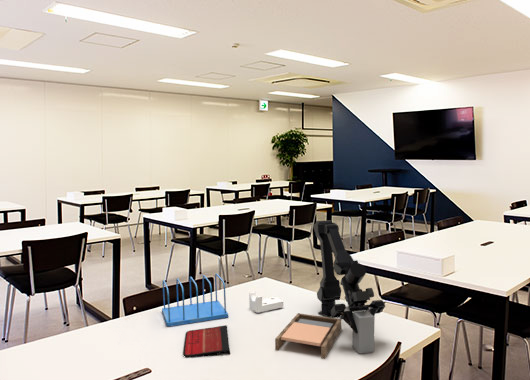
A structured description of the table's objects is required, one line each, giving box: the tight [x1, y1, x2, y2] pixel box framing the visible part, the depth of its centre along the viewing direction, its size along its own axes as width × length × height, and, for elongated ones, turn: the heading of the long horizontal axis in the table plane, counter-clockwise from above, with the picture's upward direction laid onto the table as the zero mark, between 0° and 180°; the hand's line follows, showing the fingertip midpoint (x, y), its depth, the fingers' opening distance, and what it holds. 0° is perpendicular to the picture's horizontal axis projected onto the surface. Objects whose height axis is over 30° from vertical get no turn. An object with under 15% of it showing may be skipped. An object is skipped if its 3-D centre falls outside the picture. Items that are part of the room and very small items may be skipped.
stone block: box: [351, 311, 375, 354], centre depth 149 cm, size 6×6×12 cm
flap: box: [281, 319, 333, 347], centre depth 157 cm, size 20×14×4 cm
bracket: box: [248, 291, 284, 314], centre depth 188 cm, size 13×7×8 cm, turn 118°
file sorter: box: [161, 273, 229, 327], centre depth 182 cm, size 25×17×15 cm
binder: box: [182, 324, 231, 358], centre depth 156 cm, size 16×2×21 cm
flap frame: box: [274, 312, 342, 359], centre depth 158 cm, size 25×18×4 cm
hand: (365, 332), depth 147 cm, fingers closed on stone block, 5 cm apart
